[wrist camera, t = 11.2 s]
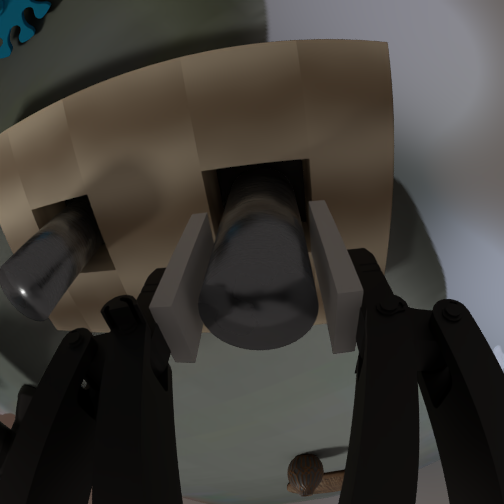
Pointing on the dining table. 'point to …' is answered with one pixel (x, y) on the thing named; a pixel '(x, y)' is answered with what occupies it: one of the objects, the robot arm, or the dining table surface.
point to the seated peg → (51, 260)
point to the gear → (18, 21)
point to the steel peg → (259, 267)
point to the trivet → (326, 483)
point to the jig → (202, 155)
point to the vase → (305, 474)
